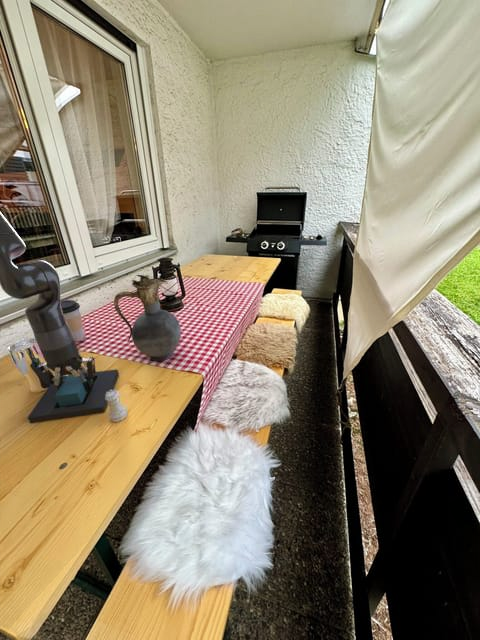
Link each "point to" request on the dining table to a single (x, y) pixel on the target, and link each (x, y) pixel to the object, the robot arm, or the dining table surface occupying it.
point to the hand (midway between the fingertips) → (77, 391)
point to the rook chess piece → (115, 406)
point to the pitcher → (151, 321)
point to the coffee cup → (73, 318)
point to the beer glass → (29, 362)
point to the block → (71, 392)
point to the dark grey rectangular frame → (93, 405)
